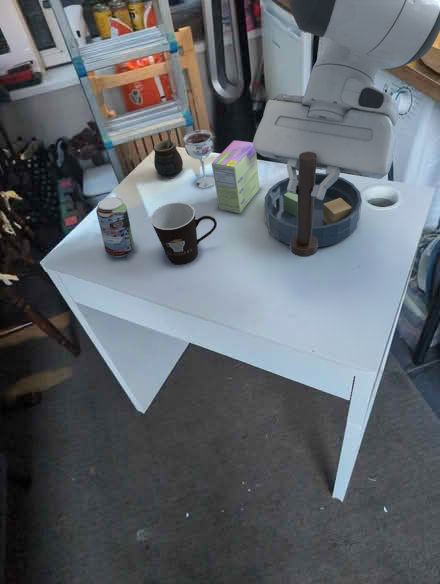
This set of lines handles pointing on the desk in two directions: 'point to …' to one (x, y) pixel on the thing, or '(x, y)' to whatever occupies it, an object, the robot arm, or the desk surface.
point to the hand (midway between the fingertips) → (304, 195)
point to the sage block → (290, 203)
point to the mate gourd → (167, 158)
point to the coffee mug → (179, 231)
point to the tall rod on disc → (305, 207)
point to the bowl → (286, 223)
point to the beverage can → (115, 227)
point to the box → (236, 176)
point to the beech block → (336, 211)
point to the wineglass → (200, 152)
